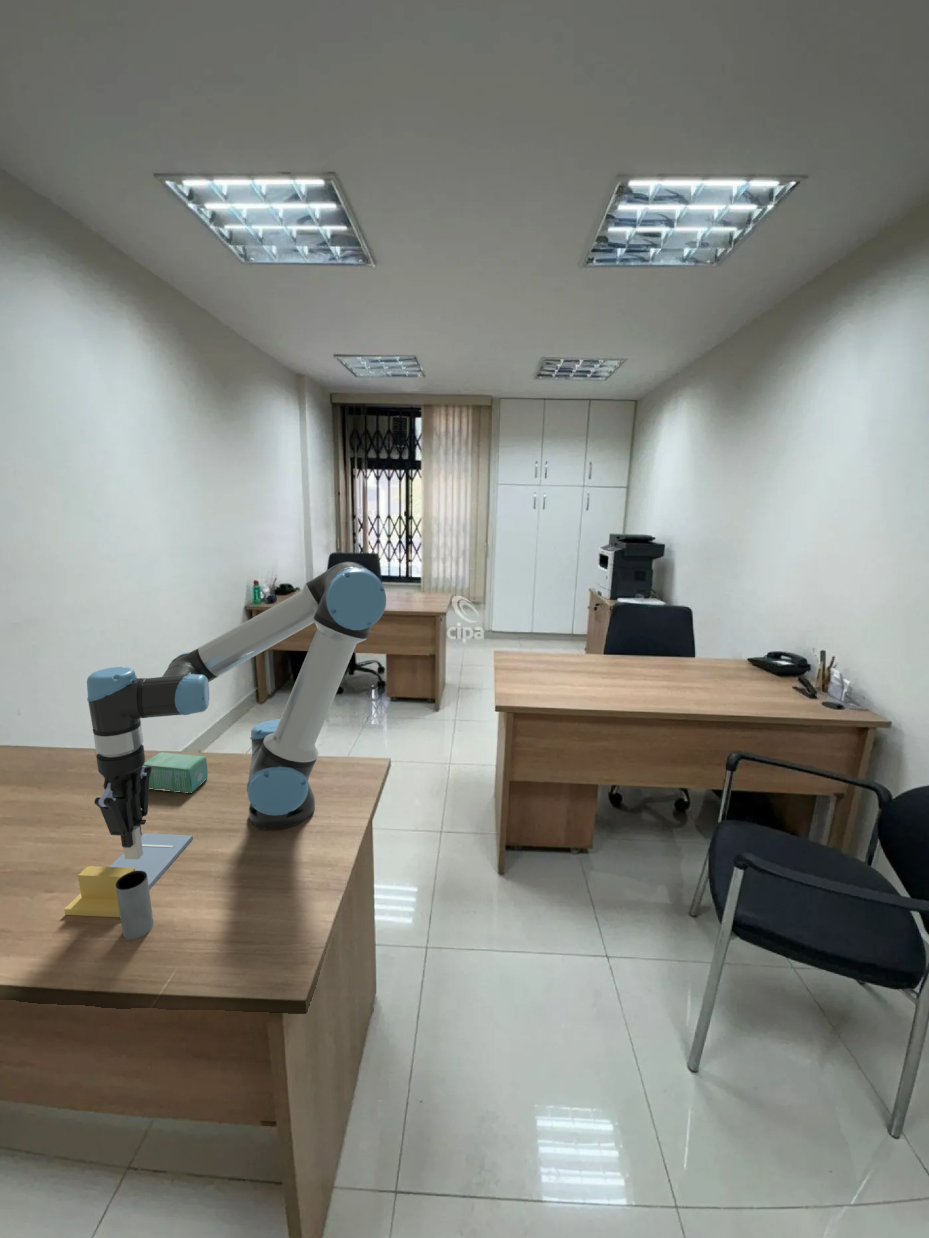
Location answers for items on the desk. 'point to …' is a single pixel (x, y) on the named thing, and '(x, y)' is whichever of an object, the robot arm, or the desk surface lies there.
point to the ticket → (156, 854)
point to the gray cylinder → (134, 904)
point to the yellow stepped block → (97, 892)
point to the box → (177, 771)
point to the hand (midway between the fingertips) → (134, 856)
